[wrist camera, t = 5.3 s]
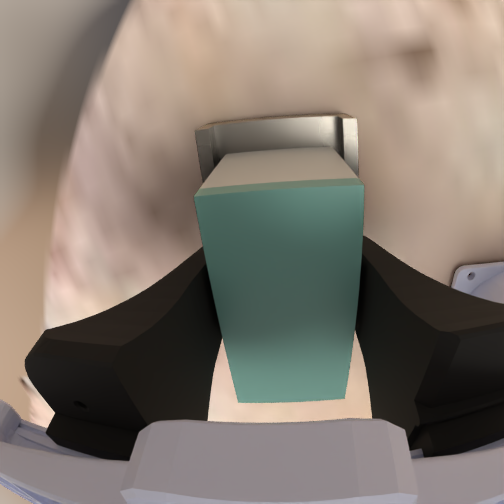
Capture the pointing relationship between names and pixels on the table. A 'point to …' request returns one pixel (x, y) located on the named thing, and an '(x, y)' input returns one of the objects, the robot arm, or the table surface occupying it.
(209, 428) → the robot arm
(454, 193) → the table surface
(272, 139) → the grey rectangular tray
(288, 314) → the teal rectangular brick
